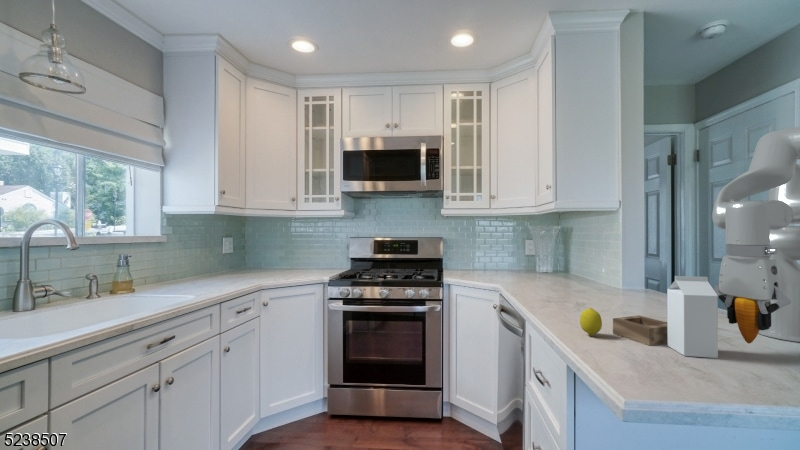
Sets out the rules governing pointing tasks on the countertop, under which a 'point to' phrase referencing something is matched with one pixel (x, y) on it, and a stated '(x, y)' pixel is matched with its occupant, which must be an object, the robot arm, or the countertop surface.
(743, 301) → the carrot
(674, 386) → the countertop surface
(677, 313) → the milk carton
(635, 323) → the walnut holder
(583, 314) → the lemon
